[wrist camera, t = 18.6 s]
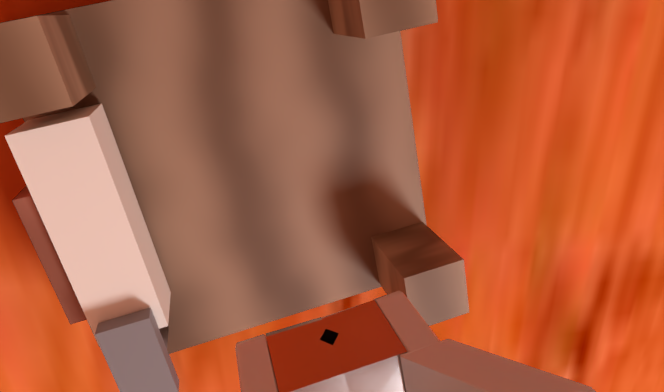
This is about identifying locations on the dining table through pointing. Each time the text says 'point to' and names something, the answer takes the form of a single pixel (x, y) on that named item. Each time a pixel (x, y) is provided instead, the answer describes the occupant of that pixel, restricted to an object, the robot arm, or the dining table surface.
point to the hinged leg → (100, 240)
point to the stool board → (247, 150)
